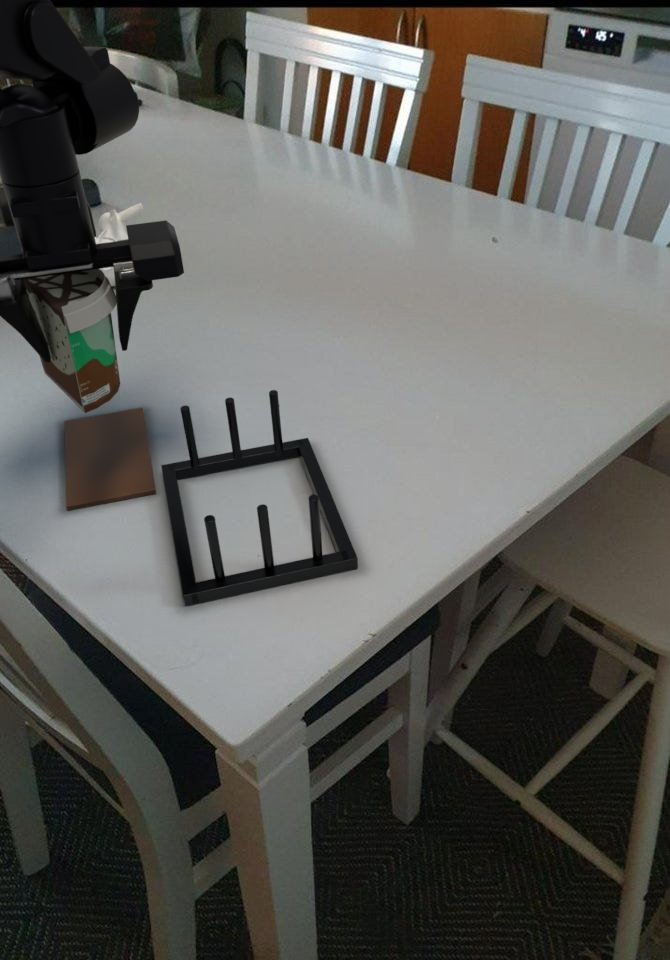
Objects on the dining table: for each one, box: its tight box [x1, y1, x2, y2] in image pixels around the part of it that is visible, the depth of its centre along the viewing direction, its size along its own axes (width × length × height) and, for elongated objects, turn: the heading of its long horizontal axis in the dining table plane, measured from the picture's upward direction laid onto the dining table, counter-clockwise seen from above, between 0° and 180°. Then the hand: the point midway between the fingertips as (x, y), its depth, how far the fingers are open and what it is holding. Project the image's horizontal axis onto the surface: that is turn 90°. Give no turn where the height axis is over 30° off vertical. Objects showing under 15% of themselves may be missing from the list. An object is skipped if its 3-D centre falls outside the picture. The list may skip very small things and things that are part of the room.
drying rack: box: [160, 389, 359, 607], centre depth 69 cm, size 14×17×8 cm
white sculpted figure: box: [95, 202, 144, 287], centre depth 107 cm, size 12×8×10 cm, turn 167°
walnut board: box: [64, 407, 157, 511], centre depth 79 cm, size 8×14×1 cm, turn 15°
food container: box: [23, 269, 121, 414], centre depth 70 cm, size 12×6×10 cm, turn 37°
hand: (87, 354), depth 71 cm, fingers closed on food container, 6 cm apart
